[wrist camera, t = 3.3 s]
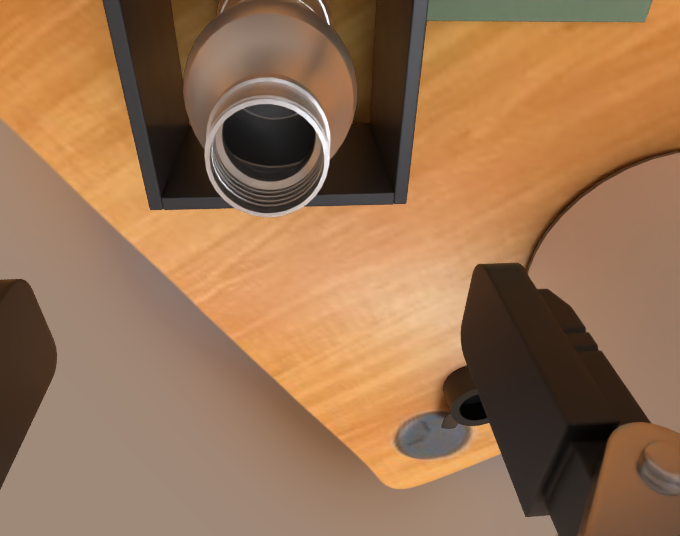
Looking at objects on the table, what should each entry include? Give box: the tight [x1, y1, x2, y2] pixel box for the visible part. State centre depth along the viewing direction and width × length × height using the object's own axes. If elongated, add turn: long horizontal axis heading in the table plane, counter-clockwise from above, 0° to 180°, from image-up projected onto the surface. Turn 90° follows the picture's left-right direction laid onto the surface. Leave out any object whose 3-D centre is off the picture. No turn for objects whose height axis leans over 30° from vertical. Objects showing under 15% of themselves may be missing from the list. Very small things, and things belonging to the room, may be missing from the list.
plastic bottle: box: [183, 0, 357, 217], centre depth 23 cm, size 6×7×20 cm
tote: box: [103, 0, 429, 210], centre depth 27 cm, size 14×13×10 cm
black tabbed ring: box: [442, 366, 489, 429], centre depth 51 cm, size 8×10×3 cm
